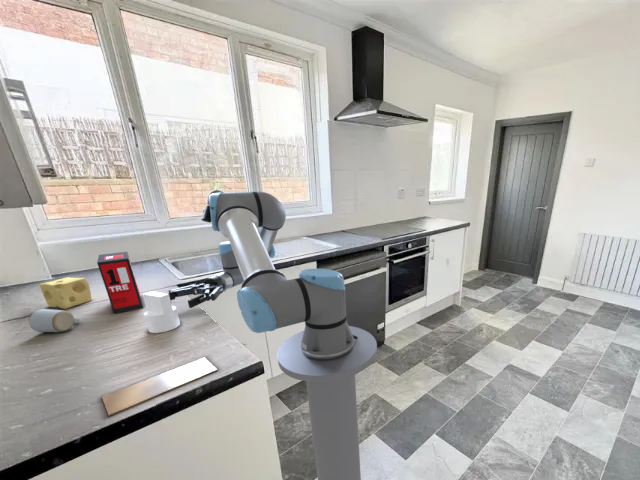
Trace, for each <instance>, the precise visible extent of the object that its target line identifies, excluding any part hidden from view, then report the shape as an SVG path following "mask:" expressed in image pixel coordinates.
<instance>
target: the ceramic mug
mask: <svg viewBox="0 0 640 480" xmlns="http://www.w3.org/2000/svg"><path fill="white" fill-rule="evenodd" d="M28 323H29V326H30V328H31V329H32V330H33V331H34V332H37V333H62V332H66V331H68V330H70V329H71V328H72V327H73V326H74V324H80V318H75V317H74V315H73V314H72V313H71V312H69V311H67V310H64V309H49V308H41V309H37V310H35V311H34V312H32V313H31V315H30V316H29V320H28Z"/></svg>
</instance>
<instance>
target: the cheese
mask: <svg viewBox="0 0 640 480" xmlns="http://www.w3.org/2000/svg"><path fill="white" fill-rule="evenodd" d="M39 287H40V290H41V292H42V295H43V298H44V300H45V302H46V304H47V306H48V308H59V309H62V310H67V309H70V308H72V307H75V306H78V305H82V304H85V303H88V302H92V300H93V299H92V291H91V286H90V284H89V282H88V281H87V279H86V277H69V276H68V277H62V278H59V279H55V280H51V281H48V282H47V281H46V282H43V283H40V284H39Z"/></svg>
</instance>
